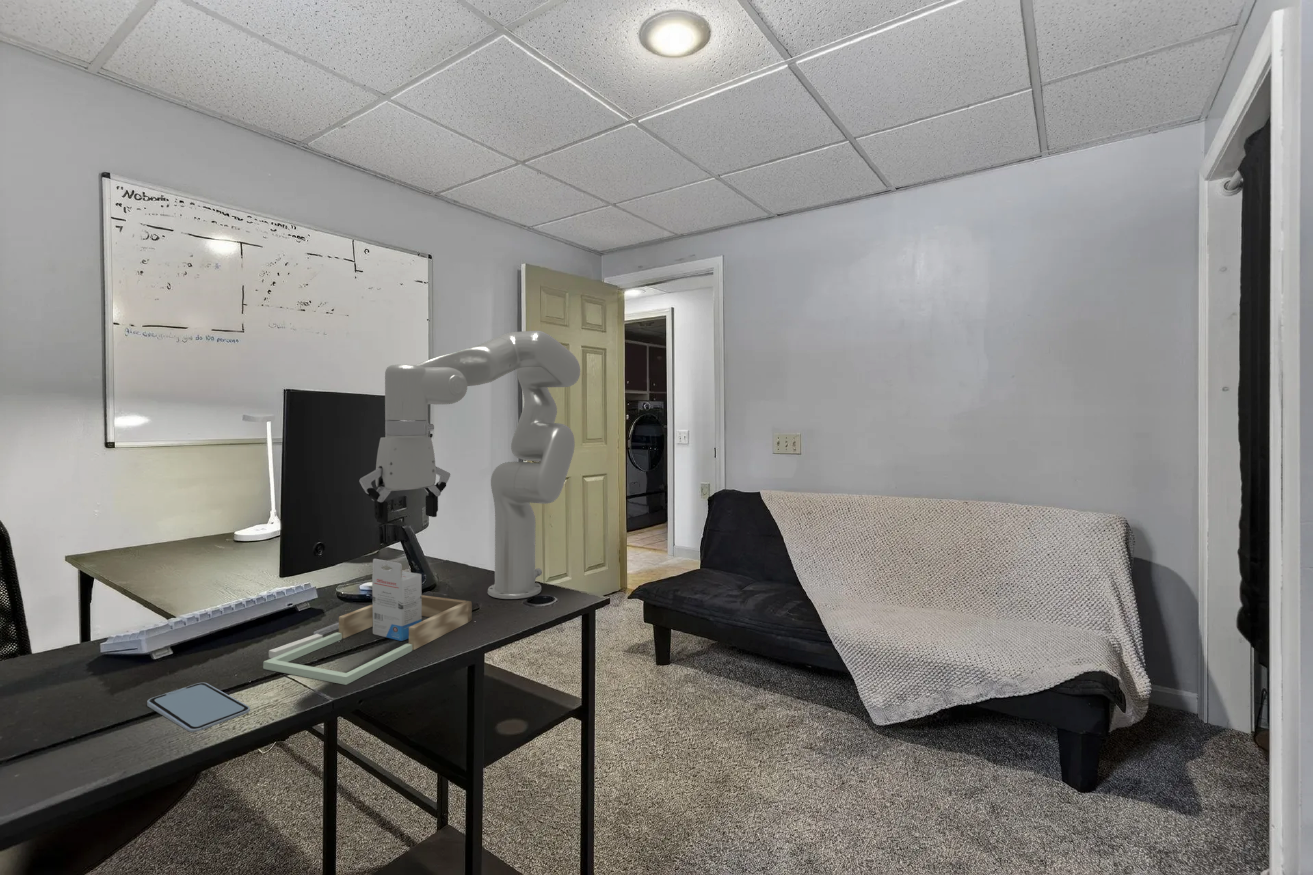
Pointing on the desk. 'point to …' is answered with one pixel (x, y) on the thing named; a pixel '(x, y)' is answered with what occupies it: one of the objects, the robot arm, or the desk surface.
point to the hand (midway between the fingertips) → (407, 519)
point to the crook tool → (327, 629)
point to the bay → (284, 666)
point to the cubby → (441, 621)
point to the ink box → (395, 600)
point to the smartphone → (197, 706)
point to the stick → (293, 645)
